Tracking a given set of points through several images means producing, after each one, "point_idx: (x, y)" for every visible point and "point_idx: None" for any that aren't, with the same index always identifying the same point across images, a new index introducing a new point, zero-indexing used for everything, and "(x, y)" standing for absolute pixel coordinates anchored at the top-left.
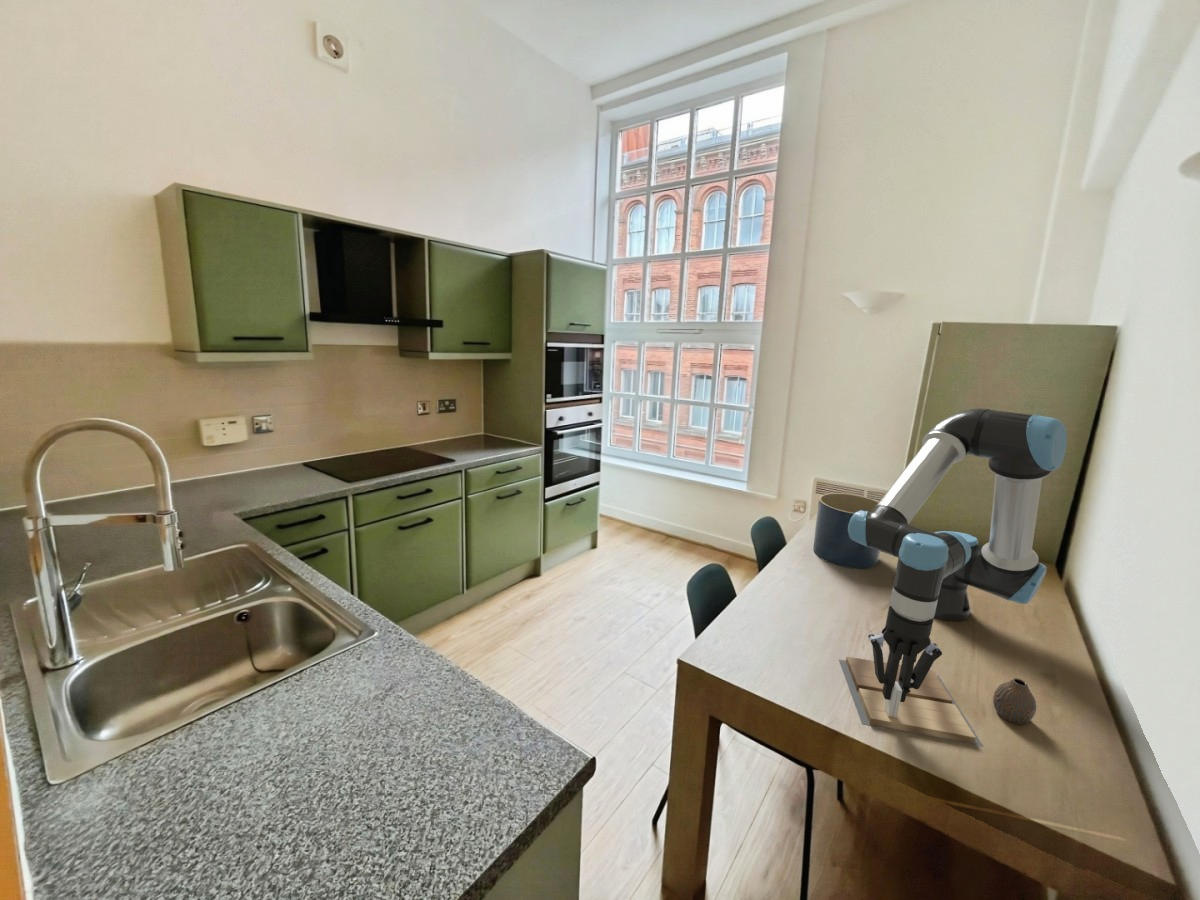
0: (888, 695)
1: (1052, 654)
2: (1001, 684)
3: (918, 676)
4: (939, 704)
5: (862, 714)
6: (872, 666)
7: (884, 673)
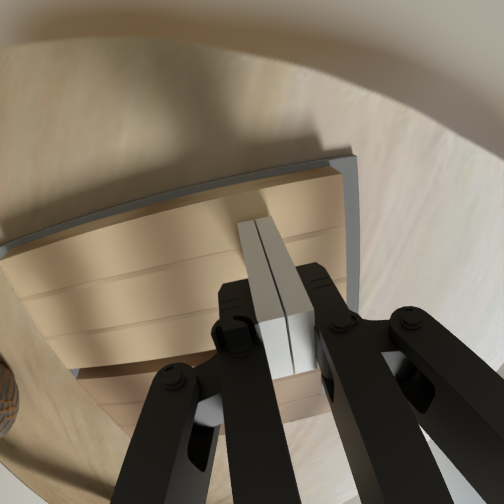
0: (310, 280)
1: (25, 468)
2: (1, 434)
3: (170, 466)
4: (99, 357)
5: (345, 209)
6: (280, 410)
7: (441, 373)
